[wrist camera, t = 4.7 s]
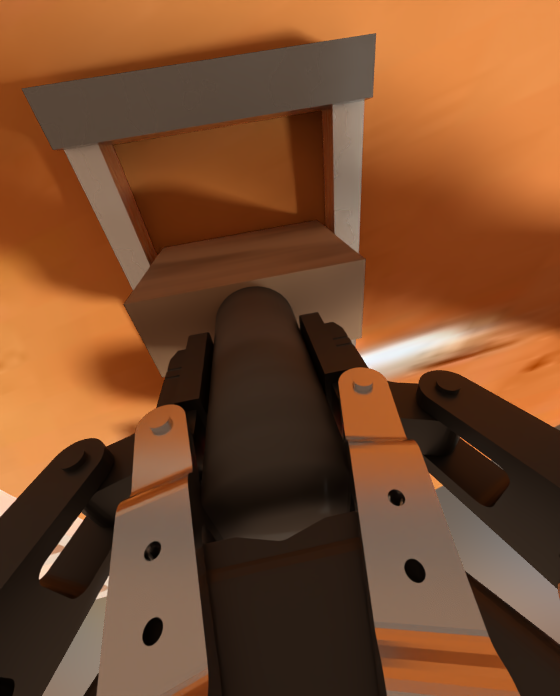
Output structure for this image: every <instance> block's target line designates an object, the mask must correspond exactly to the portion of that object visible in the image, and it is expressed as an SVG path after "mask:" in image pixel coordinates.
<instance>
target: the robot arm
mask: <svg viewBox="0 0 560 696" xmlns="http://www.w3.org/2000/svg"><path fill="white" fill-rule="evenodd" d="M299 325H300V331H301V333H302V336H303V338H304V341H305V344H306V346H307V349H308V351H309V354H310V357H311V359H312V362H313V364H314V367H315V369H316V372H317V375H318V377H319V380H320V382H321V385H322V388H323V390H324V393H325V395H326V398H327V400H328V403H329V406H330V408H331V411H332V413H333V416H334V419H335V421H336V424H337V426H338V429H339V431H340V434H341V437H342V439H343V442H344V444H345V453H346V459H347V464H348V470H349V479H348V501H347V513H343V514H339V515H334V516H330V517H325V518H323V519H322V520H320V521H318V522H316V523H314V524H313V525H311V526H309V527H307V528H305V529H304V530H302V531H300V532H298V533H296V534H295V535H293V536H291V537H289V538H288V539H285V540H282V541H274V540H262V539H250V538H239V537H234V538H229V539H225V540H224V539H223V537H222V536H221V534H220V533H219V531H218V530H217V528H216V526H215V525H214V523H213V522H212V520H211V519H210V517H209V516H208V514H207V513H206V511H205V509H204V508H203V506H202V502H201V482H202V471H203V460H204V448H205V437H206V426H207V414H208V403H209V392H210V381H211V369H212V358H213V347H214V344H213V341H212V338H211V335H210V333H209V332H206V333H200V334H195V335H190V336H189V337H188V341H187V346H186V349H184V350H179V351H177V352H176V353H175V355H174V356H173V357H172V358H171V359H170V362H169V365H168V369H167V371H168V372H166V376H165V380H164V383H163V386H162V390H161V393H160V397H159V400H158V404H157V407H156V409H154V410H152V411H150V412H149V413H148V414H146V415H145V416H144V417H143V418H142V419H141V421H140V422H139V423H138V425H137V427H136V431H135V433H134V434H133V435H131V436H129V437H127V438H124V439H122V440H120V441H118V442H116V443H113V444H111V445H109V446H107V447H106V446H105V445H104V444H103V442H102V441H100V440H99V439H95V438H89V439H84V440H81V441H78V442H76V443H74V444H72V445H70V446H69V447H67V448H66V449H64V450H63V451H62V452H60V453H59V454H58V455H57V456H56V457H55V458H54V459H53V460H52V461H51V462H50V464H49V465H48V466H47V467H46V468H45V469H44V470H43V471H42V472H41V473H40V474H39V475H38V477H37V478H36V479H35V480H34V481H33V482H32V483H31V484H30V485H29V486H28V487H27V488H26V490H25V491H24V492H23V493H22V494H21V495H20V496H19V497H18V498H17V499H16V500H15V501H14V502H13V504H12V505H11V506H10V507H9V508H8V509H7V510H6V511H5V512H4V513H3V514H2V515H1V517H0V696H42V694H43V693H44V691H45V689H46V687H47V686H48V684H49V682H50V680H51V678H52V677H53V675H54V673H55V671H56V669H57V668H58V666H59V664H60V662H61V661H62V659H63V657H64V655H65V653H66V652H67V650H68V648H69V646H70V644H71V642H72V641H73V639H74V637H75V635H76V634H77V632H78V630H79V628H80V626H81V625H82V623H83V621H84V619H85V618H86V616H87V614H88V612H89V610H90V609H91V607H92V605H93V603H94V601H95V600H96V598H97V596H98V594H99V592H100V591H101V589H102V587H103V585H104V583H105V582H106V580H107V578H108V576H109V581H108V591H107V601H106V611H105V620H104V629H103V640H102V648H101V658H100V667H99V673H98V674H97V676H96V677H95V679H94V680H93V682H92V684H91V685H90V687H89V688H88V690H87V691H86V693H85V694H84V696H560V644H558V643H557V642H556V641H554V640H553V639H552V638H551V637H549V636H548V635H547V634H546V633H544V632H543V631H542V630H540V629H539V628H538V627H536V626H535V625H534V624H533V623H531V622H530V621H529V620H528V619H526V618H525V617H523V616H522V615H521V614H520V613H518V612H517V611H516V610H515V609H513V608H512V607H511V606H510V605H508V604H507V603H506V602H504V601H503V600H502V599H501V598H499V597H498V596H497V595H495V594H494V593H493V592H491V591H490V590H489V589H488V588H486V587H485V586H484V585H483V584H481V583H480V582H478V581H477V580H476V579H475V578H473V577H472V576H471V575H470V574H468V573H467V572H466V571H465V570H464V567H463V565H462V562H461V560H460V557H459V554H458V551H457V549H456V546H455V543H454V540H453V538H452V535H451V532H450V529H449V527H448V524H447V521H446V518H445V516H444V513H443V511H442V508H441V505H440V502H439V499H438V497H437V494H436V491H435V489H434V486H433V483H432V480H431V478H430V475H429V473H430V474H431V475H432V476H434V477H435V478H436V479H437V480H438V481H439V482H440V483H441V484H442V485H443V486H445V487H446V488H447V489H448V490H449V491H450V492H451V493H452V494H453V495H454V496H456V497H457V498H458V499H459V500H460V501H461V502H462V503H463V504H465V506H467V507H468V508H469V509H470V510H471V511H472V512H473V513H474V514H476V515H477V516H478V517H479V518H480V519H481V520H482V521H483V522H484V523H485V524H486V525H488V526H489V527H490V528H491V529H492V530H493V531H494V532H495V533H496V534H498V535H499V536H500V537H501V538H502V539H503V540H504V541H505V542H506V543H507V544H508V545H510V546H511V547H512V548H513V549H514V550H515V551H516V552H517V553H518V554H519V555H521V556H522V557H523V558H524V559H525V560H526V561H527V562H528V563H529V564H530V565H532V566H533V567H534V568H535V569H536V570H537V571H538V572H539V573H541V575H543V576H544V577H545V578H546V579H547V580H548V581H549V582H550V583H551V584H553V585H554V586H555V587H556V588H557V589H558V593H559V598H560V431H559V430H557V429H556V428H554V427H552V426H550V425H549V424H547V423H545V422H543V421H541V420H540V419H538V418H536V417H534V416H533V415H531V414H529V413H527V412H525V411H524V410H522V409H520V408H518V407H517V406H515V405H513V404H511V403H509V402H508V401H506V400H504V399H502V398H500V397H499V396H497V395H495V394H493V393H492V392H490V391H488V390H486V389H484V388H483V387H481V386H479V385H477V384H476V383H474V382H472V381H470V380H468V379H467V378H465V377H463V376H461V375H459V374H456V373H453V372H449V371H442V370H436V371H430V372H427V373H425V374H424V375H422V376H421V378H420V380H419V383H418V384H413V383H396V382H390V381H387V380H386V378H385V377H384V376H383V375H382V374H381V373H379V372H377V371H375V370H373V369H369V368H368V367H367V365H366V364H365V362H364V360H363V359H362V357H361V356H360V354H359V353H358V351H357V349H356V348H355V346H354V345H353V344H352V342H351V340H350V338H349V337H348V335H347V334H346V332H345V330H344V329H343V328H342V327H341V326H339V325H338V324H336V323H334V322H329V323H324V322H323V320H322V318H321V316H320V315H319V313H318V312H314V313H309V314H303V315H299ZM460 437H461V438H463V439H464V440H465V441H467V442H468V443H469V444H471V445H472V446H473V447H475V448H476V449H478V450H479V451H480V452H482V453H483V454H484V455H486V456H487V457H489V458H490V459H491V460H493V461H494V462H496V463H497V464H498V465H499V466H500V467H501V468H503V469H501V468H500V467H498V466H497V465H496V464H494V463H493V462H492V461H490V460H489V459H488V458H486V457H485V456H484V455H482V454H481V453H480V452H478V451H477V450H475V449H474V448H473V447H471V446H470V445H469V444H467V443H466V442H465V441H463V440H462V439H461V438H460ZM81 512H82V513H83V514H84V515H85V516H86V517H85V519H84V520H83V522H82V523H81V524H80V526H79V527H78V529H77V530H76V532H75V533H74V534H73V536H72V537H71V539H70V540H69V542H68V543H67V544H66V546H65V547H64V549H63V550H62V551H61V553H60V554H59V556H58V557H57V559H56V560H55V561H54V563H53V564H52V566H51V567H50V569H49V570H48V571H47V573H46V574H45V575H44V576H43V577H42V578H41V579H40V580H39V575H40V572H41V569H42V567H43V565H44V563H45V562H46V560H47V559H48V557H49V556H50V555H51V553H52V552H53V550H54V549H55V548H56V546H57V545H58V543H59V542H60V541H61V539H62V538H63V537H64V535H65V534H66V532H67V531H68V530H69V528H70V527H71V526H72V524H73V523H74V521H75V520H76V519H77V517H78V516H79V514H80V513H81Z"/></svg>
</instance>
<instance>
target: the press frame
mask: <svg viewBox="0 0 560 696" xmlns="http://www.w3.org/2000/svg"><path fill="white" fill-rule="evenodd" d="M375 43H376V33H375V34H368V35H362V36H355V37H349V38H343V39H336V40H330V41H323V42H317V43H311V44H304V45H298V46H291V47H285V48H279V49H272V50H266V51H259V52H253V53H247V54H240V55H234V56H227V57H221V58H215V59H208V60H202V61H195V62H189V63H183V64H176V65H170V66H163V67H157V68H151V69H144V70H138V71H131V72H125V73H119V74H112V75H106V76H99V77H93V78H87V79H80V80H74V81H67V82H61V83H55V84H48V85H42V86H35V87H29V88H22V91H23V92H24V94H25V96H26V98H27V100H28V102H29V104H30V106H31V108H32V110H33V112H34V114H35V116H36V118H37V120H38V122H39V124H40V126H41V128H42V130H43V132H44V134H45V136H46V137H47V139H48V141H49V143H50V145H51V147H52V149H53V150H64V151H65V153H66V155H67V157H68V159H69V161H70V163H71V165H72V167H73V169H74V171H75V173H76V176H77V178H78V180H79V182H80V184H81V186H82V188H83V190H84V192H85V194H86V196H87V198H88V200H89V202H90V204H91V206H92V208H93V210H94V212H95V214H96V216H97V218H98V220H99V222H100V224H101V226H102V228H103V230H104V232H105V234H106V236H107V239H108V241H109V243H110V245H111V247H112V249H113V251H114V253H115V255H116V257H117V259H118V261H119V263H120V265H121V267H122V269H123V271H124V273H125V275H126V277H127V279H128V281H129V283H130V285H131V287H132V289H133V290H134V289H135V287H136V286H137V284H138V283H139V282H140V280H141V279H142V277H143V276H144V274H145V273H146V272H147V270H148V269H149V267H150V266H151V264H152V263H153V262H154V260H155V259H156V257H157V254H156V251H155V249H154V247H153V244H152V242H151V239H150V237H149V234H148V232H147V229H146V227H145V224H144V222H143V219H142V217H141V214H140V212H139V209H138V207H137V204H136V202H135V199H134V197H133V194H132V192H131V189H130V187H129V184H128V182H127V179H126V177H125V174H124V172H123V169H122V167H121V164H120V162H119V160H118V157H117V155H116V152H115V150H114V147H113V145H116V144H122V143H128V142H134V141H140V140H146V139H152V138H159V137H165V136H171V135H177V134H183V133H189V132H195V131H201V130H207V129H213V128H219V127H225V126H231V125H237V124H243V123H249V122H255V121H261V120H267V119H273V118H279V117H285V116H291V115H297V114H303V113H309V112H316V111H322V134H323V164H324V193H325V223H326V228H327V229H329V230H330V231H331V232H332V233H334V234H335V235H336V236H337V237H339V238H340V239H341V240H342V241H344V242H345V243H346V244H347V245H349V246H350V247H351V248H352V249H354V250H355V251H356V252H357V253H359V234H360V207H361V179H362V151H363V124H364V100H367V99H369V98H372V97H373V83H374V63H375ZM351 342H352V344H353V345H354V346H355V345H356V339H354V340H351Z"/></svg>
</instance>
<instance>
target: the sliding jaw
mask: <svg viewBox="0 0 560 696" xmlns="http://www.w3.org/2000/svg"><path fill="white" fill-rule="evenodd" d="M365 261H366V259H365V258H364V257H362V256H361V255H360V254H359V253H357V252H356V251H355V250H354V249H352V248H351V247H350V246H349V245H347V244H346V243H345V242H344V241H342V240H341V239H340V238H339V237H337V236H336V235H335V234H334V233H332V232H331V231H330V230H329V229H327V228H326V227H325V226H324V225H322V224H321V223H320V222H319V221H318V220H314V221H309V222H303V223H298V224H292V225H286V226H281V227H275V228H270V229H264V230H259V231H253V232H248V233H242V234H237V235H231V236H226V237H220V238H214V239H209V240H203V241H198V242H192V243H187V244H181V245H176V246H170V247H165V248H163V249H162V250H161V252H160V253H159V254H158V256H157V257H156V259H155V260H154V262H153V263H152V264H151V266H150V267H149V269H148V270H147V272H146V273H145V274H144V276H143V277H142V279H141V280H140V282H139V283H138V284H137V286H136V287H135V289H134V290H133V292H132V293H131V294H130V296H129V297H128V299H127V300H126V302H125V303H124V306H125V308H126V310H127V312H128V314H129V316H130V318H131V319H132V321H133V323H134V325H135V327H136V329H137V331H138V333H139V335H140V336H141V338H142V340H143V342H144V344H145V346H146V348H147V350H148V351H149V353H150V355H151V357H152V359H153V361H154V363H155V365H156V366H157V368H158V370H159V372H160V374H161V376H162V377H165V376H166V372H168V371H167V369H168V365H169V362H170V359H171V358H172V357H173V356H174V355H175V353H176V352H177V351H179V350H184V349H186V346H187V341H188V337H189V336H190V335H195V334H200V333H206V332H209V333H210V335H211V338H212V341H213V344H214V347H213V358H212V369H211V381H210V392H209V403H208V414H207V426H206V437H205V448H204V460H203V471H202V482H201V502H202V506H203V508H204V509H205V511H206V513H207V514H208V516H209V517H210V519H211V520H212V522H213V523H214V525H215V526H216V528H217V530H218V531H219V533H220V534H221V536H222V537H223V539H224V540H225V539H229V538H234V537H239V538H250V539H262V540H274V541H282V540H285V539H288V538H289V537H291V536H293V535H295V534H296V533H298V532H300V531H302V530H304V529H305V528H307V527H309V526H311V525H313V524H314V523H316V522H318V521H320V520H322V519H323V518H325V517H330V516H334V515H339V514H343V513H347V501H348V479H349V470H348V464H347V459H346V453H345V444H344V442H343V439H342V437H341V434H340V431H339V429H338V426H337V424H336V421H335V419H334V416H333V413H332V411H331V408H330V406H329V403H328V400H327V398H326V395H325V393H324V390H323V388H322V385H321V382H320V380H319V377H318V375H317V372H316V369H315V367H314V364H313V362H312V359H311V357H310V354H309V351H308V349H307V346H306V344H305V341H304V338H303V336H302V333H301V331H300V325H299V315H303V314H309V313H314V312H318V313H319V315H320V316H321V318H322V320H323V322H324V323H329V322H334V323H336V324H338V325H339V326H341V327H342V328H343V329H344V330H345V332H346V334H347V335H348V337H349V338H350V340H354V339H359V338H362V319H363V300H364V280H365Z"/></svg>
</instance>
